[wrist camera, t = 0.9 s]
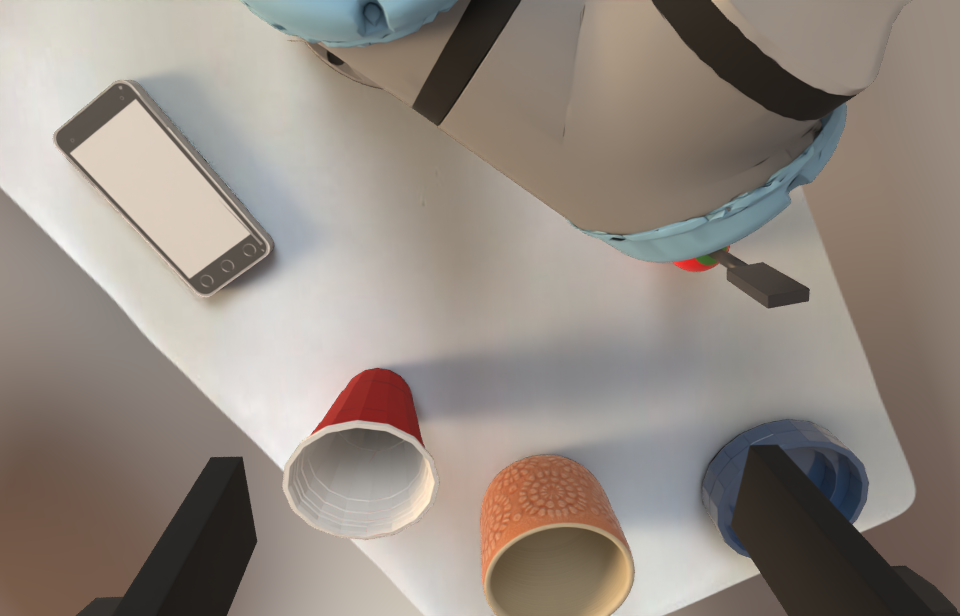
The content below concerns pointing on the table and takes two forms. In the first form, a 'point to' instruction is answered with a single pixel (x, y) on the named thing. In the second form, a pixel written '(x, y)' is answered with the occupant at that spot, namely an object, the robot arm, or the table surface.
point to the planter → (552, 542)
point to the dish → (808, 450)
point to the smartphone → (163, 187)
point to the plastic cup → (364, 463)
